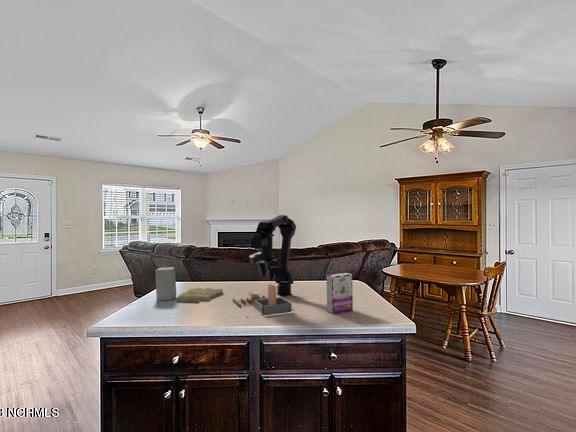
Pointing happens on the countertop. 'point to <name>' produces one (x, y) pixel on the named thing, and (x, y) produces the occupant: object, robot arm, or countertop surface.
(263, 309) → the tray
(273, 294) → the slat
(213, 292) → the decorative tile
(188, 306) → the countertop surface
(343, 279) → the candy bar box
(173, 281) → the skincare box
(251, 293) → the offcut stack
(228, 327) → the countertop surface
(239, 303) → the rack
